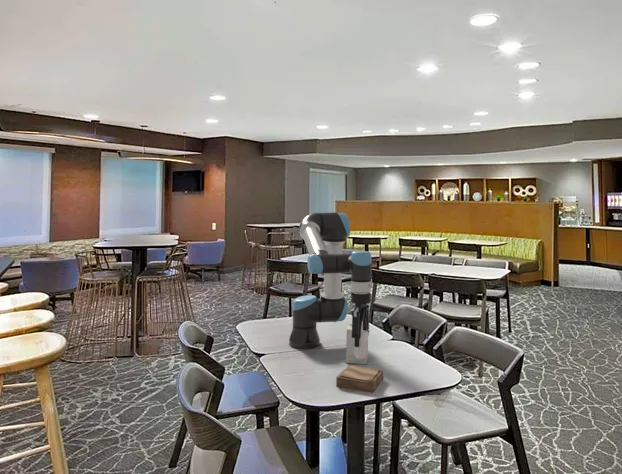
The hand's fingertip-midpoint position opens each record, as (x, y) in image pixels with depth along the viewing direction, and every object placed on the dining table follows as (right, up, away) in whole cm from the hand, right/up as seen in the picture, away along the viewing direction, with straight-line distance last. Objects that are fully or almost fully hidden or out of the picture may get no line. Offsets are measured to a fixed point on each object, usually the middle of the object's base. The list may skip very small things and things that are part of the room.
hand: (360, 352), depth 166 cm
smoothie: (0, -2, 0) cm, 2 cm away
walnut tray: (0, -12, +1) cm, 12 cm away
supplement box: (+2, -11, +25) cm, 28 cm away
